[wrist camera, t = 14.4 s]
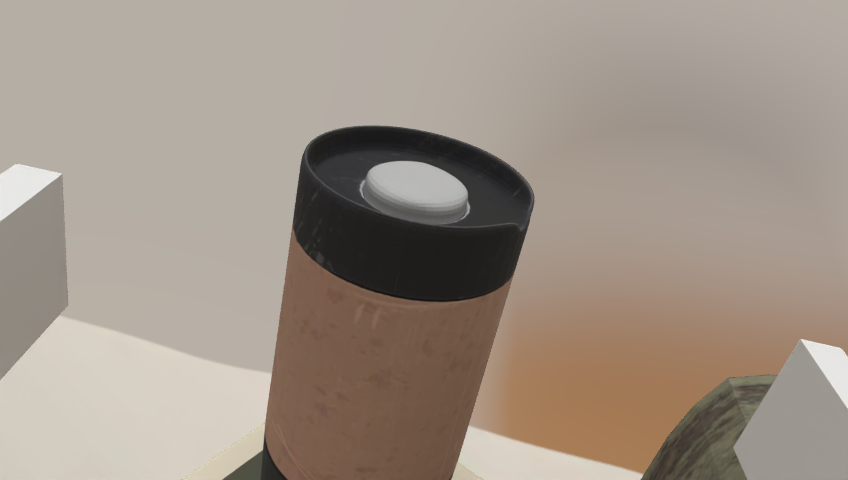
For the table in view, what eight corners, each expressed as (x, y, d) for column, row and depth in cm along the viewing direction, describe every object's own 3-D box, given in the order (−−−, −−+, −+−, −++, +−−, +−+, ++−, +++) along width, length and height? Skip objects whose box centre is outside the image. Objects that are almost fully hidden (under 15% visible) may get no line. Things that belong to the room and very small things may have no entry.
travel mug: (230, 521, 32) (270, 119, 23) (379, 486, 36) (467, 126, 26) (271, 683, 27) (348, 236, 17) (444, 623, 30) (587, 225, 21)
